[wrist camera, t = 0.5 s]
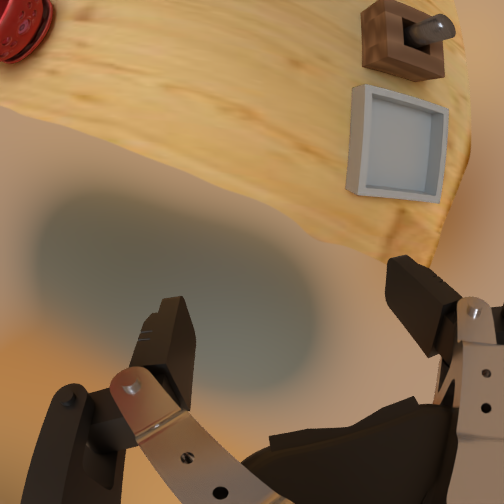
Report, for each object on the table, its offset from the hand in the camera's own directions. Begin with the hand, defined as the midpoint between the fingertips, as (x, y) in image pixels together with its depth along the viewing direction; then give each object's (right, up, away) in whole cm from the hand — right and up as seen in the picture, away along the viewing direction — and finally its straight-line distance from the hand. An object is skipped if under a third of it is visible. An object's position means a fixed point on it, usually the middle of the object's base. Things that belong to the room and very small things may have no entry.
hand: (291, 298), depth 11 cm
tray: (+18, +17, +25) cm, 35 cm away
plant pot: (-36, +35, +12) cm, 52 cm away
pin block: (+18, +31, +19) cm, 40 cm away
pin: (+18, +30, +18) cm, 39 cm away
